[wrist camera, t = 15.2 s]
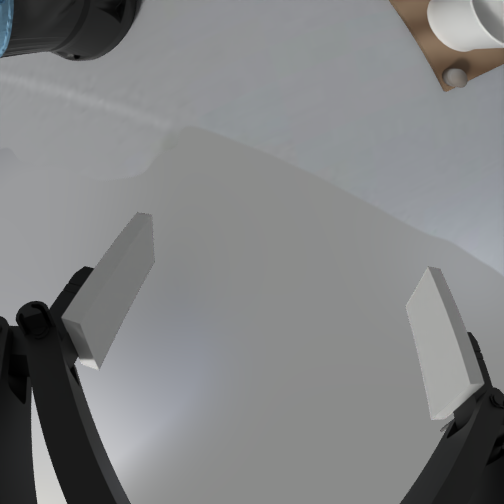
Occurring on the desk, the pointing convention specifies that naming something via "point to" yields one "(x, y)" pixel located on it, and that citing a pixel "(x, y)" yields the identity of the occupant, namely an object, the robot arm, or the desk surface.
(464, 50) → the mug
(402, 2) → the board with corner pegs
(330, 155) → the desk surface
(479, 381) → the robot arm
